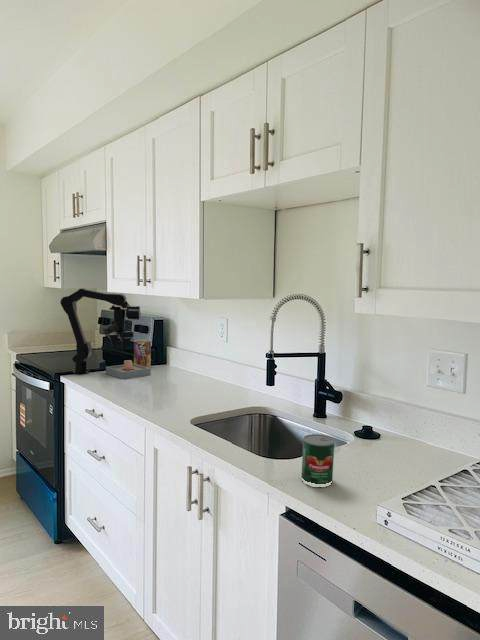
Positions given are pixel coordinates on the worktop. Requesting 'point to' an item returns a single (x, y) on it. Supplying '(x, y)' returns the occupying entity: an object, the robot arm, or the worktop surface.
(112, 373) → the bin
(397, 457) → the worktop surface
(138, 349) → the candy box
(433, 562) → the worktop surface
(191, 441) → the worktop surface
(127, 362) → the peg
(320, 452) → the canned tomato
